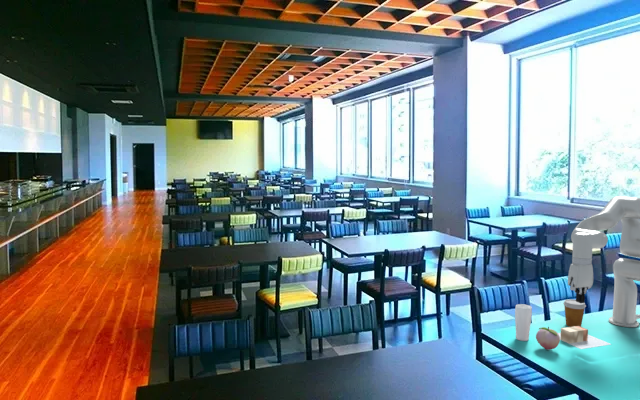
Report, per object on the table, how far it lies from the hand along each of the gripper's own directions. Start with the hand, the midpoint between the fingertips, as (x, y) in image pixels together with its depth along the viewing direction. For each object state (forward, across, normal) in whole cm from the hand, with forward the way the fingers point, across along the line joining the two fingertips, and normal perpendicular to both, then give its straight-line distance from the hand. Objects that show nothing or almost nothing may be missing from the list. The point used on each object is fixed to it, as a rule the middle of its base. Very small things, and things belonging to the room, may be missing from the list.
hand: (580, 302), depth 220 cm
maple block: (+14, -2, 0) cm, 14 cm away
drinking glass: (+17, +23, -9) cm, 30 cm away
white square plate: (+17, 0, 0) cm, 17 cm away
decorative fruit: (+17, +21, +4) cm, 27 cm away
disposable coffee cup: (+18, -12, -15) cm, 26 cm away
